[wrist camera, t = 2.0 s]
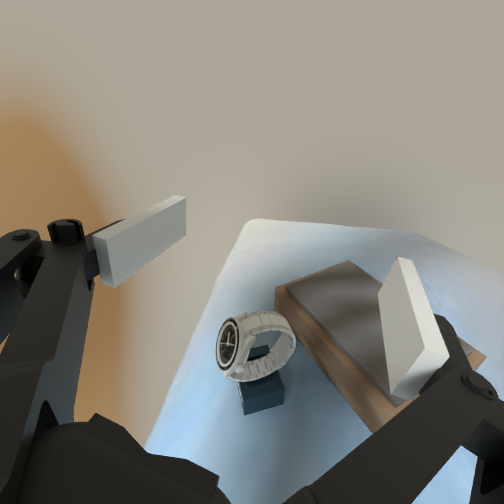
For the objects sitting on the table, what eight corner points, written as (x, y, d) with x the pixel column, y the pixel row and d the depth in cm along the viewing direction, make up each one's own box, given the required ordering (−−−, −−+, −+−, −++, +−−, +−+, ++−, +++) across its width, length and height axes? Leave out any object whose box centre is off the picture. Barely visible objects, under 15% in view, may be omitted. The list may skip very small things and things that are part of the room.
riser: (467, 380, 30) (490, 352, 27) (383, 446, 25) (400, 421, 22) (343, 281, 45) (349, 256, 42) (274, 310, 40) (275, 284, 37)
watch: (217, 372, 32) (208, 308, 25) (280, 356, 33) (285, 292, 27) (226, 421, 27) (216, 358, 21) (298, 400, 29) (308, 335, 23)
